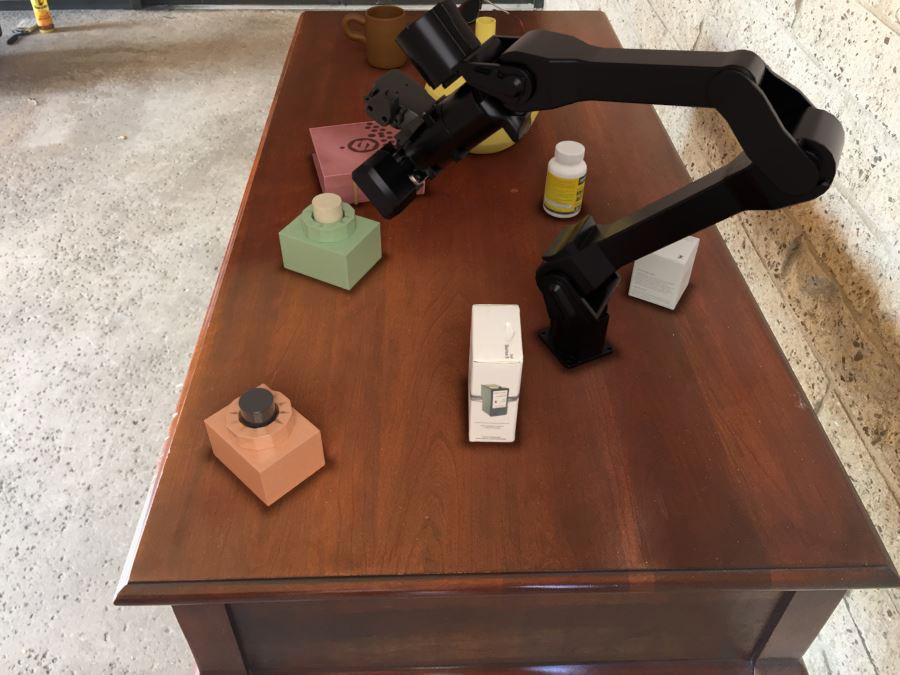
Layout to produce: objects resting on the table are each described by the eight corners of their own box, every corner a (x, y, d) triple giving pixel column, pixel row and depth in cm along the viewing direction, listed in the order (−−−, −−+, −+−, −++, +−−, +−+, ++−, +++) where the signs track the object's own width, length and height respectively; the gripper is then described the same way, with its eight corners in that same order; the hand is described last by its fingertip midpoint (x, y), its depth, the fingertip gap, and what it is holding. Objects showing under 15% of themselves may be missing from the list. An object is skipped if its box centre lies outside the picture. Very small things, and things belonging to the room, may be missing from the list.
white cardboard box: (688, 285, 99) (701, 237, 94) (673, 311, 95) (686, 263, 90) (643, 270, 102) (653, 222, 97) (626, 295, 98) (636, 247, 93)
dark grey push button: (283, 415, 73) (280, 399, 72) (255, 433, 72) (251, 418, 70) (263, 397, 75) (259, 382, 74) (235, 415, 73) (231, 400, 72)
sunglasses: (481, 18, 165) (482, -6, 162) (533, 46, 157) (536, 22, 154) (430, 33, 159) (431, 9, 155) (481, 64, 151) (484, 39, 147)
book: (327, 210, 111) (324, 179, 107) (312, 157, 122) (309, 128, 118) (425, 196, 114) (425, 166, 110) (402, 146, 125) (401, 117, 121)
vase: (411, 159, 122) (408, 37, 109) (439, 107, 135) (440, -7, 122) (526, 175, 119) (538, 51, 106) (544, 120, 132) (556, 4, 119)
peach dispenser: (325, 464, 77) (318, 417, 73) (268, 506, 74) (256, 460, 69) (270, 417, 82) (260, 370, 77) (213, 454, 78) (199, 407, 73)
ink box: (466, 382, 86) (470, 301, 78) (511, 383, 86) (519, 302, 78) (467, 443, 80) (471, 360, 72) (515, 443, 80) (525, 361, 72)
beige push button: (348, 213, 98) (347, 197, 96) (332, 228, 95) (330, 211, 94) (324, 206, 99) (322, 190, 97) (308, 220, 96) (306, 203, 95)
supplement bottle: (579, 221, 110) (588, 159, 103) (540, 216, 110) (547, 154, 104) (582, 201, 114) (591, 140, 107) (545, 196, 114) (551, 135, 108)
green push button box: (382, 257, 103) (379, 208, 98) (349, 290, 98) (344, 241, 92) (318, 236, 106) (313, 188, 101) (283, 267, 101) (276, 219, 96)
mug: (342, 70, 145) (338, 19, 139) (345, 54, 151) (341, 4, 144) (407, 70, 146) (405, 19, 139) (407, 54, 151) (406, 4, 145)
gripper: (455, 24, 83) (371, 98, 95) (362, 91, 71) (279, 167, 82) (516, 109, 86) (428, 171, 97) (438, 188, 74) (348, 249, 85)
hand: (374, 186), depth 90 cm, fingers closed
